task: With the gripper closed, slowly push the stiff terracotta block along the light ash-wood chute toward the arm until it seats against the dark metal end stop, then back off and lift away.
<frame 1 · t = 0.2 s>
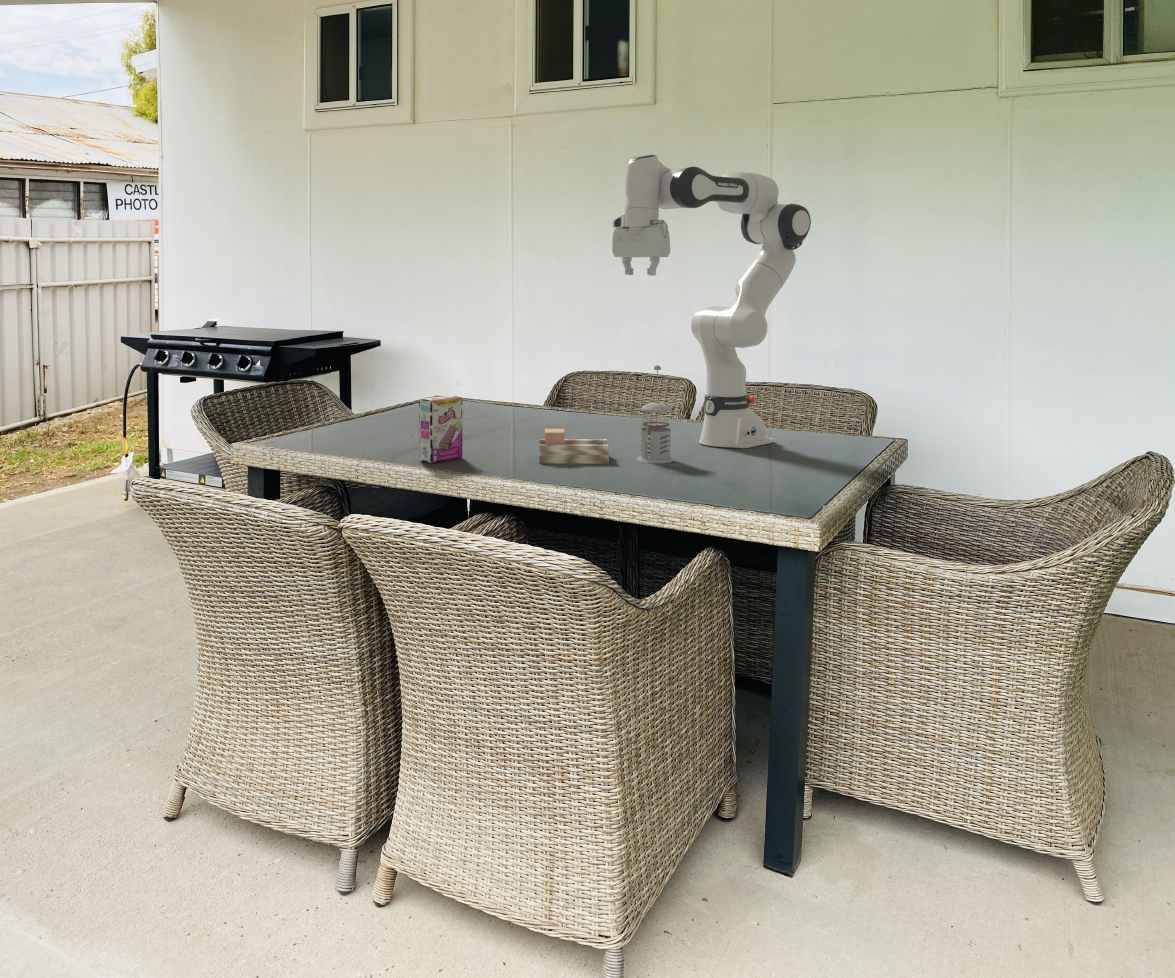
hand: (640, 275, 255), 48 cm above the table, fingers open, 8 cm apart
chute: (573, 459, 258), on the table
french press: (653, 461, 257), on the table
candy bar box: (442, 460, 255), on the table
jammed block: (554, 440, 256), point 5 cm above the table, slide at 0.0 cm
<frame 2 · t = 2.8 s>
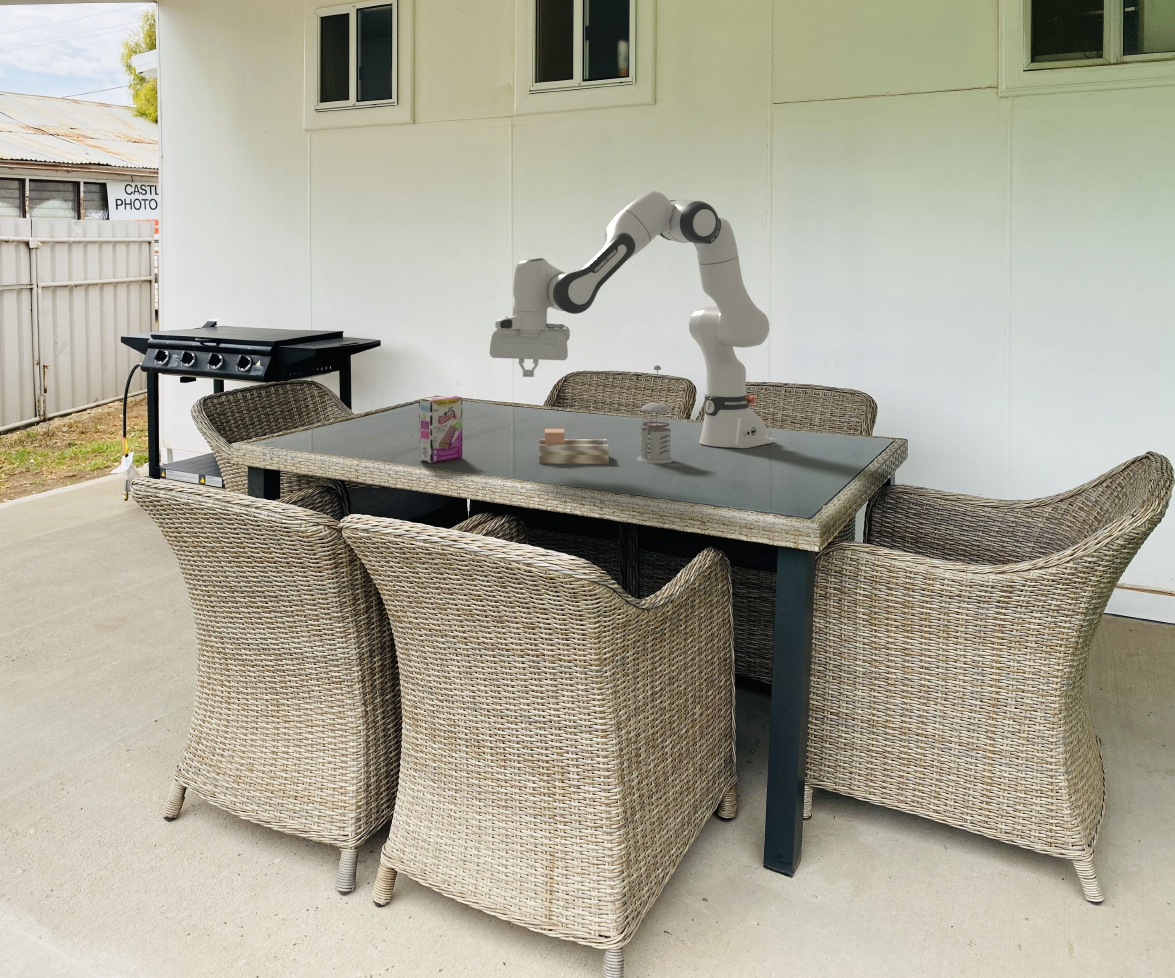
hand: (528, 376, 253), 22 cm above the table, fingers closed
nothing on the table moved.
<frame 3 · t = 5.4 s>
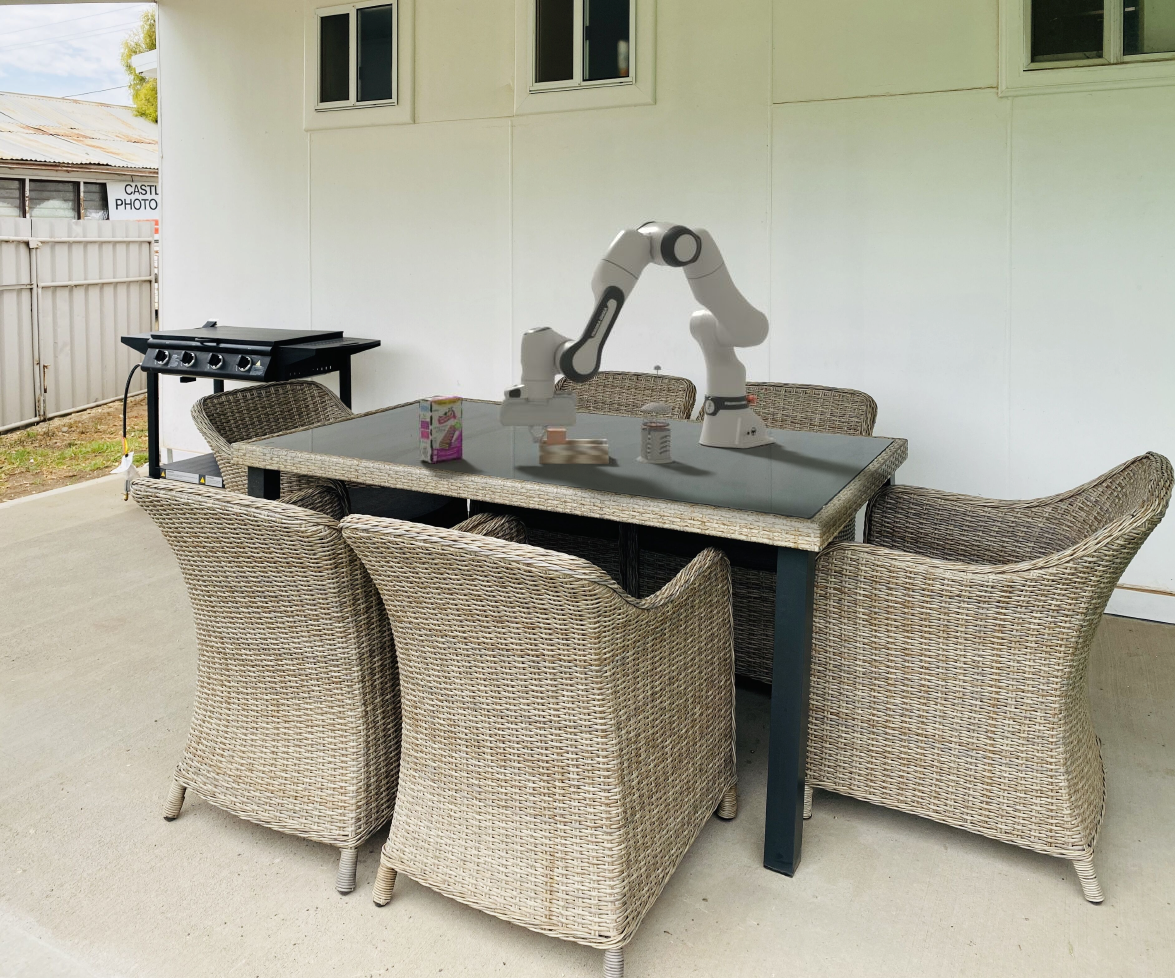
hand: (538, 442, 257), 4 cm above the table, fingers closed
jammed block: (556, 440, 256), point 5 cm above the table, slide at 0.5 cm, touching gripper
everything else where it was.
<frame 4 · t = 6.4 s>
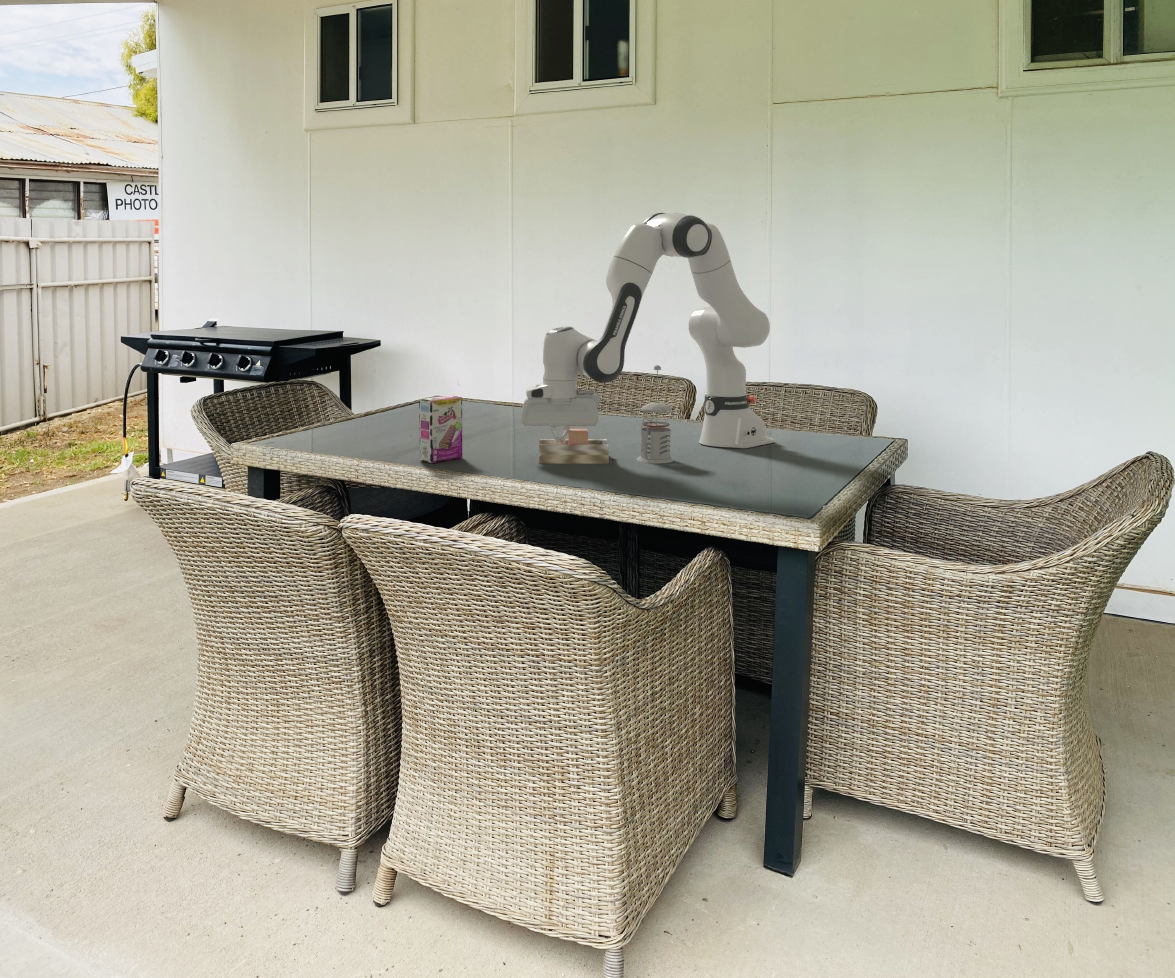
hand: (559, 442, 257), 4 cm above the table, fingers closed
jammed block: (578, 441, 257), point 5 cm above the table, slide at 6.2 cm, touching gripper
everything else where it was.
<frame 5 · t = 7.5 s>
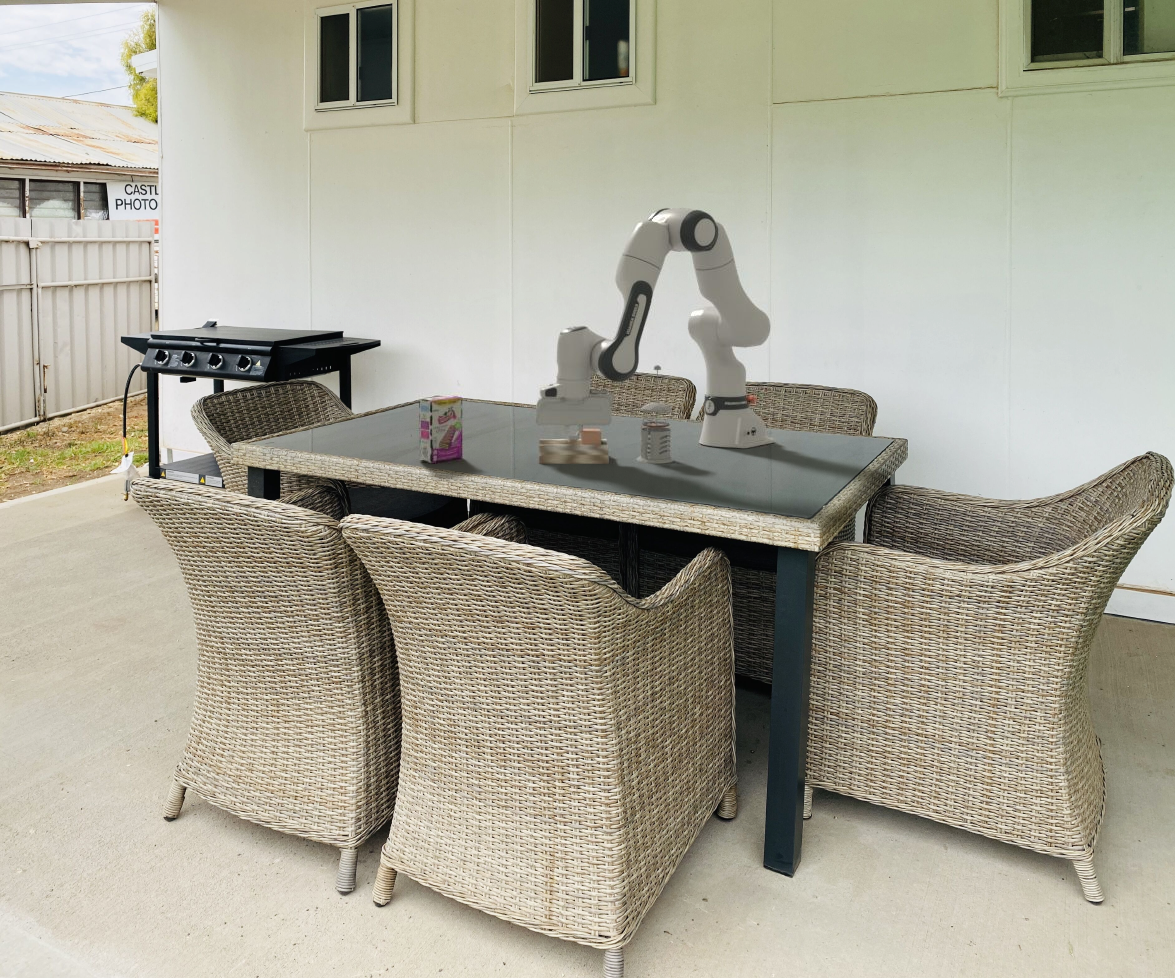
hand: (573, 441, 257), 5 cm above the table, fingers closed
jammed block: (590, 441, 257), point 5 cm above the table, slide at 9.6 cm, touching gripper
everything else where it was.
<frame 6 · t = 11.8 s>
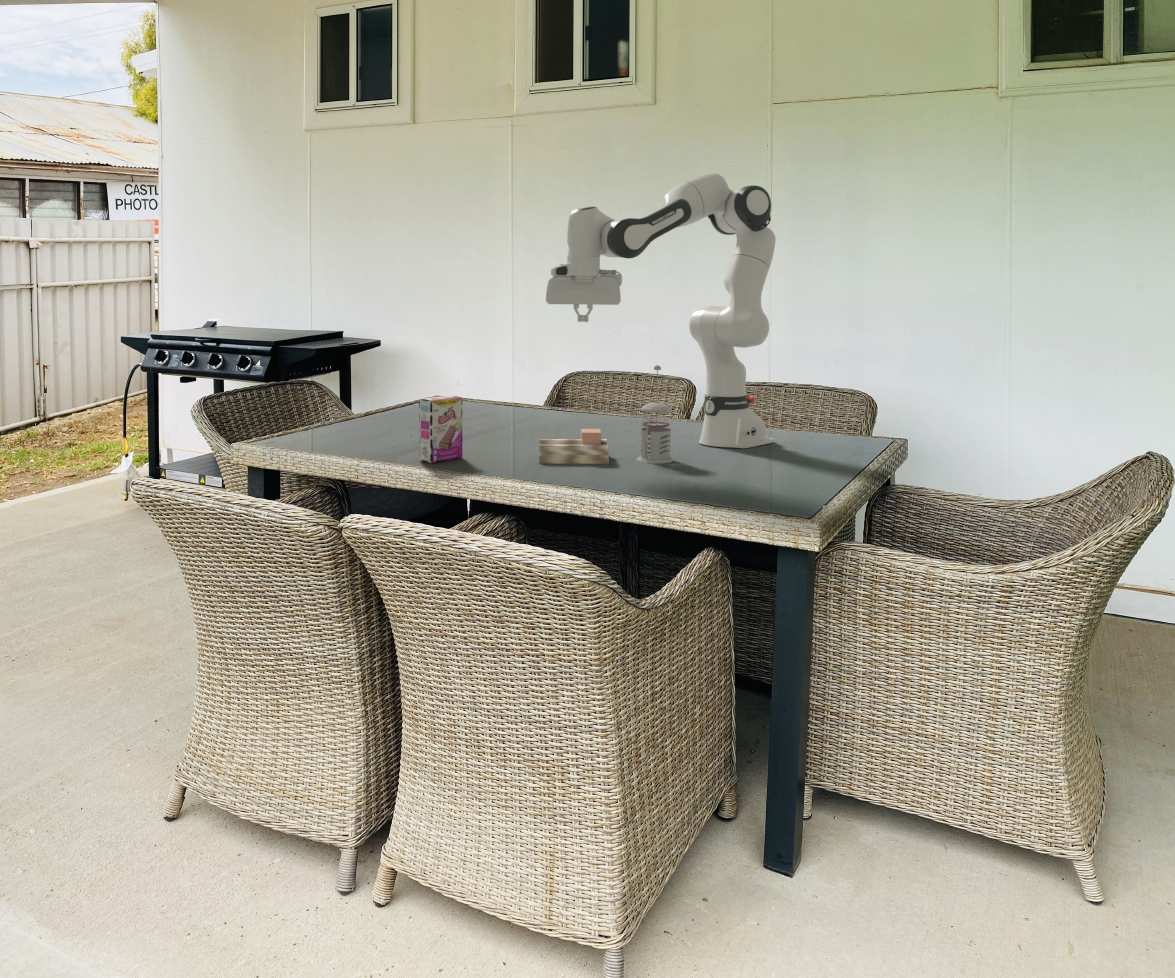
hand: (582, 321, 264), 35 cm above the table, fingers closed
jammed block: (590, 441, 257), point 5 cm above the table, slide at 9.6 cm
everything else where it was.
at the end: jammed block slide at 9.6 cm; french press moved 0.2 cm from its start; candy bar box moved 0.2 cm from its start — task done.
